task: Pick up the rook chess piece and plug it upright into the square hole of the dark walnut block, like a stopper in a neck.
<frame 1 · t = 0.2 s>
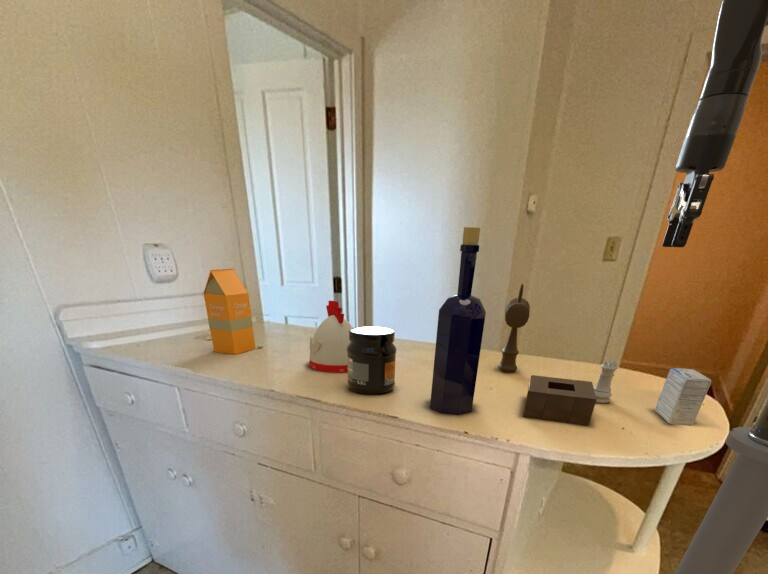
hand: (672, 247, 81), 28 cm above the countertop, tool pointing down, fingers open, 8 cm apart
kendama: (506, 371, 111), on the countertop
rook chess piece: (598, 401, 92), on the countertop
kitchen timer: (336, 365, 110), on the countertop
medicine box: (671, 419, 84), on the countertop
orange juice: (235, 350, 121), on the countertop
bottle: (450, 407, 86), on the countertop
socket block: (555, 410, 85), on the countertop
supplement container: (371, 389, 94), on the countertop
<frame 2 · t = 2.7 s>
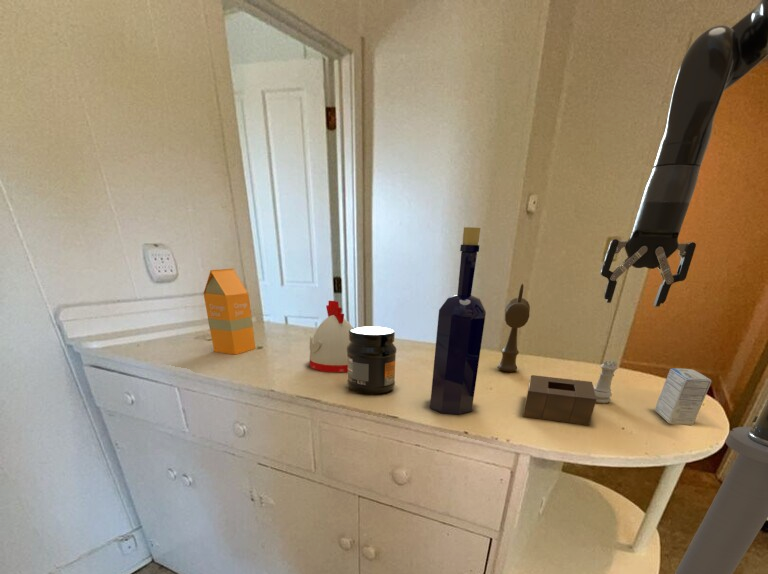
hand: (632, 304, 82), 19 cm above the countertop, tool pointing down, fingers open, 8 cm apart
nothing on the countertop moved.
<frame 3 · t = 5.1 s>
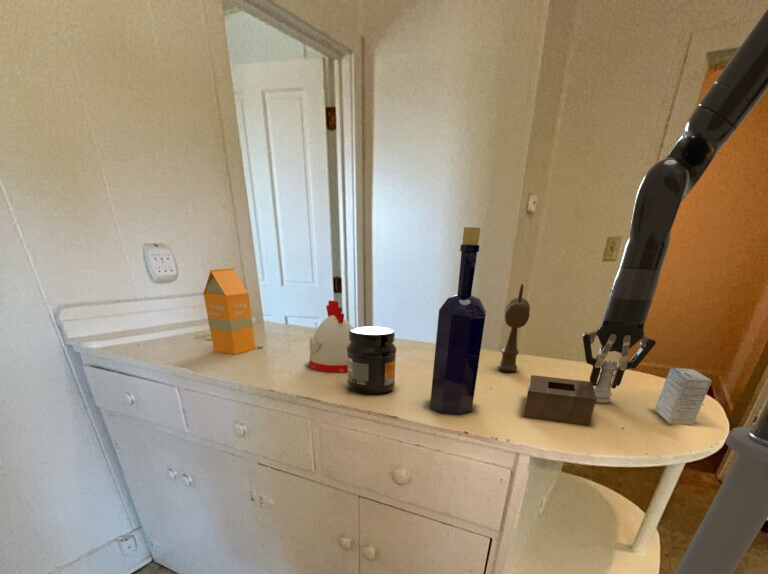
hand: (603, 385, 90), 3 cm above the countertop, tool pointing down, fingers closed on rook chess piece, 3 cm apart
rook chess piece: (598, 401, 92), on the countertop, touching gripper
everything else where it was.
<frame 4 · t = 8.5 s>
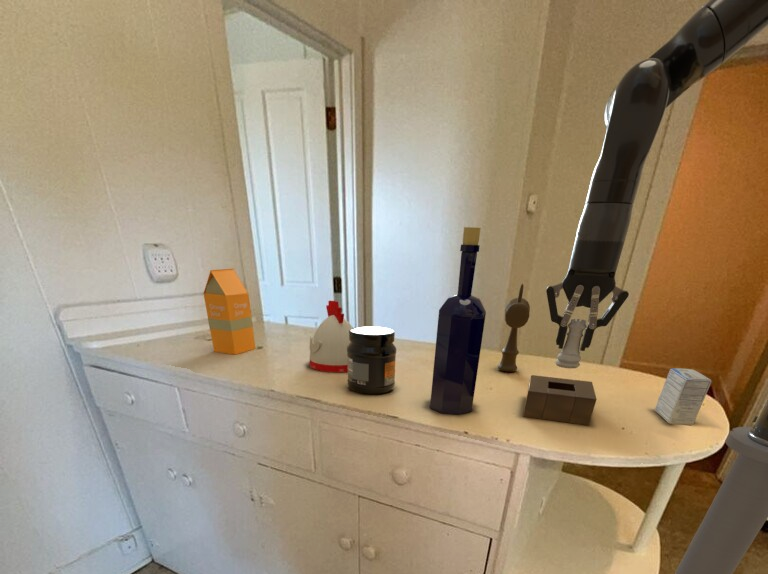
hand: (571, 348, 79), 12 cm above the countertop, tool pointing down, fingers closed on rook chess piece, 3 cm apart
rook chess piece: (566, 366, 80), point 9 cm above the countertop, touching gripper
everything else where it was.
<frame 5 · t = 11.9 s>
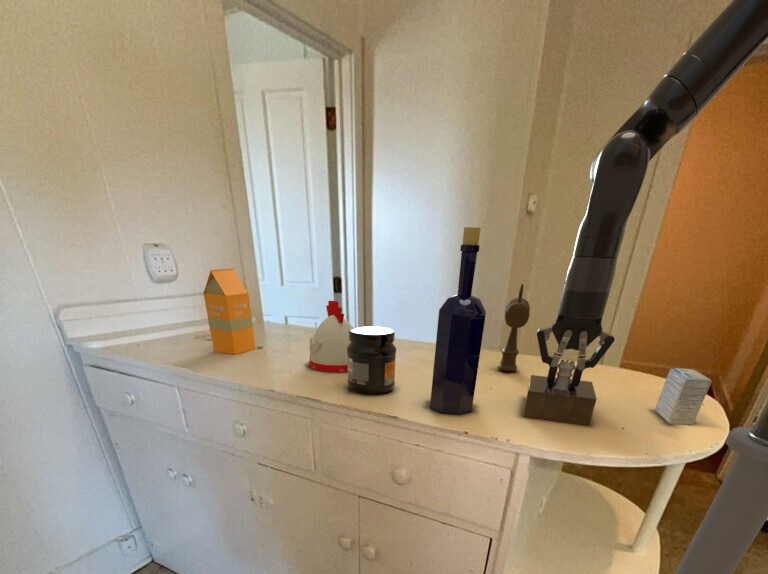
hand: (561, 386, 82), 5 cm above the countertop, tool pointing down, fingers closed on rook chess piece, 3 cm apart
rook chess piece: (557, 403, 84), point 2 cm above the countertop, touching gripper
everything else where it was.
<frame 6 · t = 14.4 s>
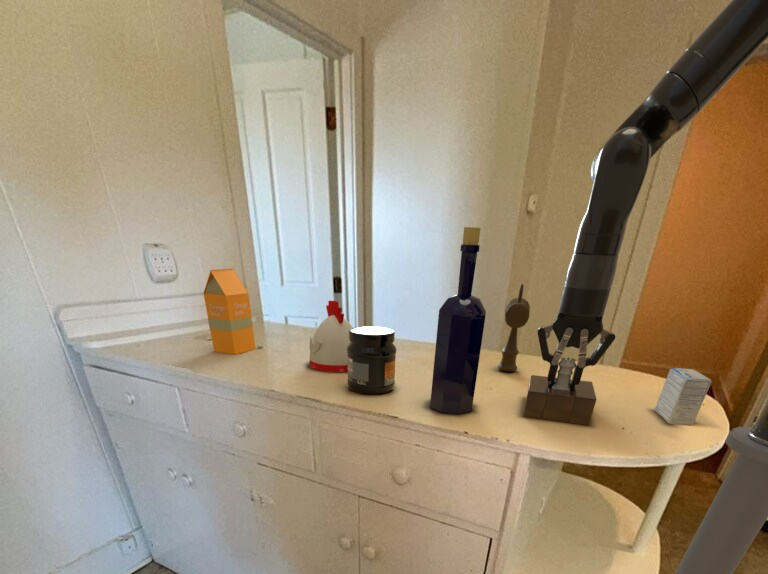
hand: (562, 384, 82), 5 cm above the countertop, tool pointing down, fingers closed on rook chess piece, 3 cm apart
rook chess piece: (557, 401, 84), point 2 cm above the countertop, touching gripper
everything else where it was.
when the fingers open (6 cm above the countertop, at t = 16.5 s): rook chess piece drops 3 cm, resting in socket block.
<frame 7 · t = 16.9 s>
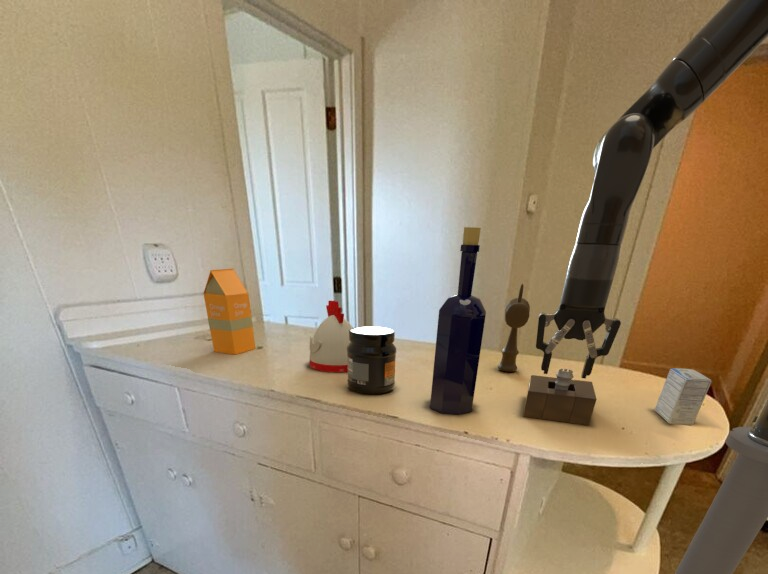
hand: (564, 374, 81), 7 cm above the countertop, tool pointing down, fingers open, 6 cm apart
rook chess piece: (555, 412, 85), resting in socket block
everything else where it was.
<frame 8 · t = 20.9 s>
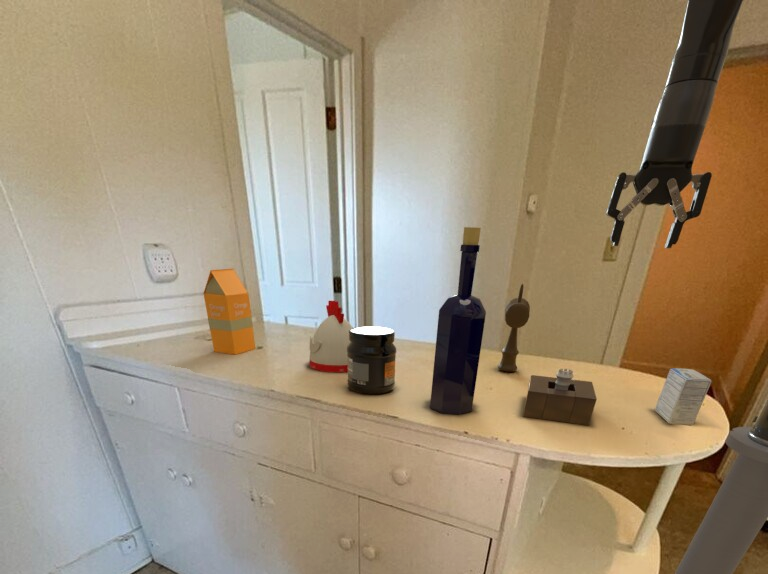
hand: (641, 247, 76), 28 cm above the countertop, tool pointing down, fingers open, 8 cm apart
nothing on the countertop moved.
at the end: rook chess piece 0.1 cm off-centre in the socket block, point 0.0 cm above the socket block's base; rook chess piece tilted 0°; the gripper is holding nothing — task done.
